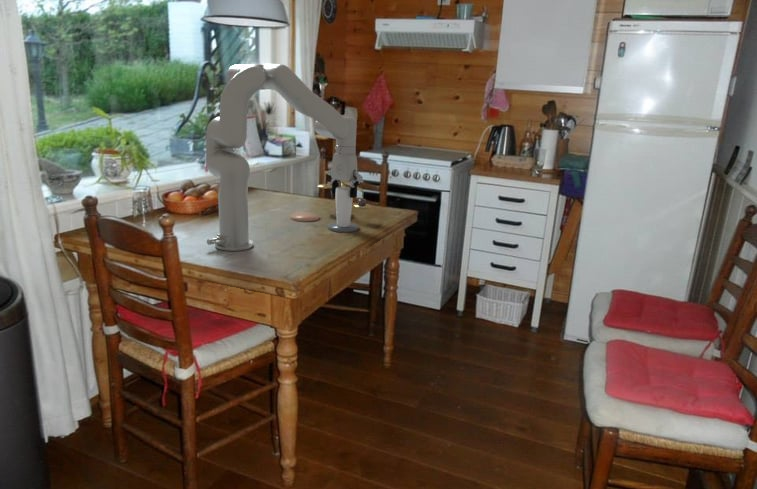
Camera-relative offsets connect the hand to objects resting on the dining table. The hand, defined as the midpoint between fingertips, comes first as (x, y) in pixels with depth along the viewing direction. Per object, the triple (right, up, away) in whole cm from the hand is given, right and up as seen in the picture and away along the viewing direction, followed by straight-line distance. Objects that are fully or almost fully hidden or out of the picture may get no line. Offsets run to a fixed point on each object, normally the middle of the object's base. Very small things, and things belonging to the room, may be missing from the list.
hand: (344, 195), depth 213 cm
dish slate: (-1, -13, +4) cm, 13 cm away
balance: (-2, -8, +20) cm, 22 cm away
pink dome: (-17, -8, +16) cm, 25 cm away
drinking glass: (-1, -12, +3) cm, 13 cm away
